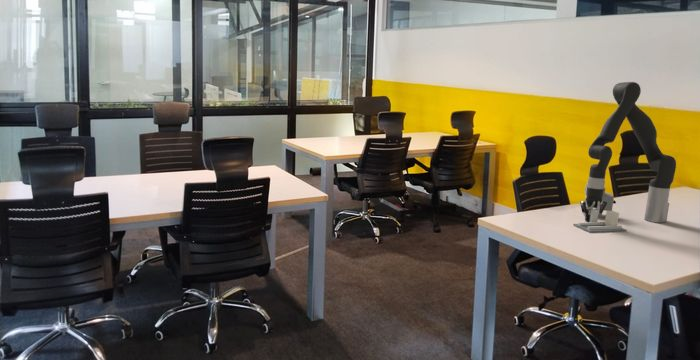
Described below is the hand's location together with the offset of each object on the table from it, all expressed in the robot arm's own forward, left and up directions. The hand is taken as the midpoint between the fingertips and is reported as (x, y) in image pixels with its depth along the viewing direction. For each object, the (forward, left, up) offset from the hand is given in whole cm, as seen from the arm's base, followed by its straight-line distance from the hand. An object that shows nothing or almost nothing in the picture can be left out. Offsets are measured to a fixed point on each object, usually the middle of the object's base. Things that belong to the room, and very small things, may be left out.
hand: (591, 221), depth 293 cm
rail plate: (+2, +9, -1) cm, 9 cm away
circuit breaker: (-14, -13, -1) cm, 19 cm away
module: (0, 0, -1) cm, 1 cm away
